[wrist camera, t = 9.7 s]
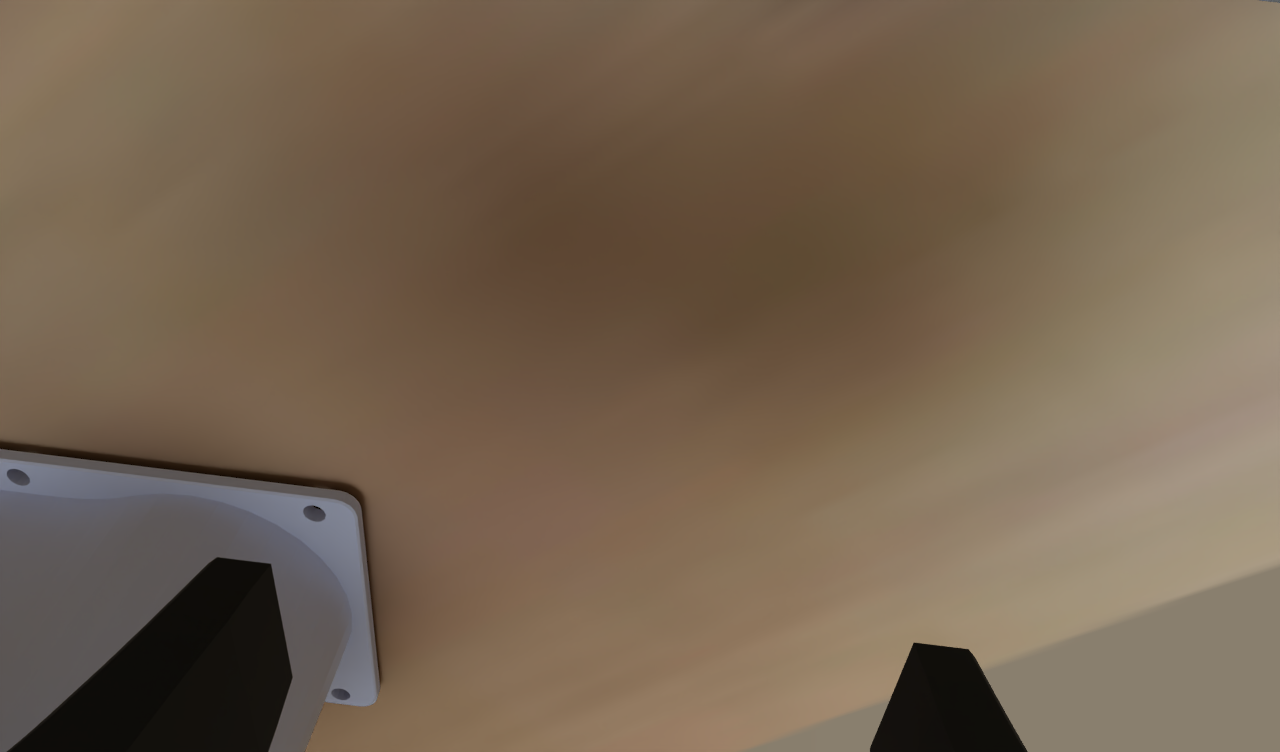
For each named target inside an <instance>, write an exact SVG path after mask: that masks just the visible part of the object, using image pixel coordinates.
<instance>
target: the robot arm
mask: <svg viewBox="0 0 1280 752" xmlns="http://www.w3.org/2000/svg"><path fill="white" fill-rule="evenodd" d="M312 505H314V506H317V507H320V508H321V509H322V510H320V509H317V508H315V507H313V506H312ZM379 691H380V681H379V672H378V662H377V653H376V643H375V634H374V624H373V615H372V605H371V595H370V586H369V576H368V567H367V557H366V548H365V538H364V529H363V519H362V510H361V506H360V503H359V502H358V501H357V500H356V498H355V497H354V496H352V495H350V494H349V493H347V492H343V491H339V490H331V489H322V488H314V487H306V486H298V485H290V484H282V483H274V482H265V481H257V480H249V479H241V478H233V477H225V476H216V475H208V474H200V473H192V472H184V471H176V470H167V469H159V468H151V467H143V466H135V465H127V464H118V463H110V462H102V461H94V460H86V459H78V458H69V457H61V456H53V455H45V454H37V453H29V452H20V451H12V450H4V449H0V752H305V750H306V748H307V745H308V743H309V740H310V738H311V735H312V733H313V730H314V727H315V725H316V722H317V720H318V717H319V715H320V712H321V710H322V707H323V705H324V702H329V703H337V704H345V705H354V706H369V705H372V704H374V703H375V702H376V700H377V697H378V694H379ZM870 752H1027V750H1026V748H1025V746H1024V745H1023V743H1022V741H1021V740H1020V738H1019V736H1018V734H1017V733H1016V731H1015V729H1014V727H1013V725H1012V724H1011V722H1010V720H1009V718H1008V717H1007V715H1006V713H1005V711H1004V709H1003V708H1002V706H1001V704H1000V702H999V700H998V699H997V697H996V695H995V694H994V691H993V690H992V688H991V686H990V684H989V682H988V680H987V679H986V677H985V675H984V673H983V671H982V669H981V668H980V666H979V664H978V662H977V660H976V658H975V657H974V656H973V654H972V653H971V652H970V651H969V649H962V648H953V647H945V646H937V645H929V644H921V643H913V646H912V648H911V651H910V653H909V656H908V658H907V660H906V663H905V665H904V668H903V670H902V672H901V675H900V677H899V680H898V682H897V684H896V687H895V689H894V692H893V694H892V697H891V699H890V701H889V704H888V706H887V709H886V711H885V713H884V716H883V718H882V721H881V723H880V726H879V728H878V731H877V733H876V735H875V738H874V740H873V742H872V745H871V748H870Z"/></svg>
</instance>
